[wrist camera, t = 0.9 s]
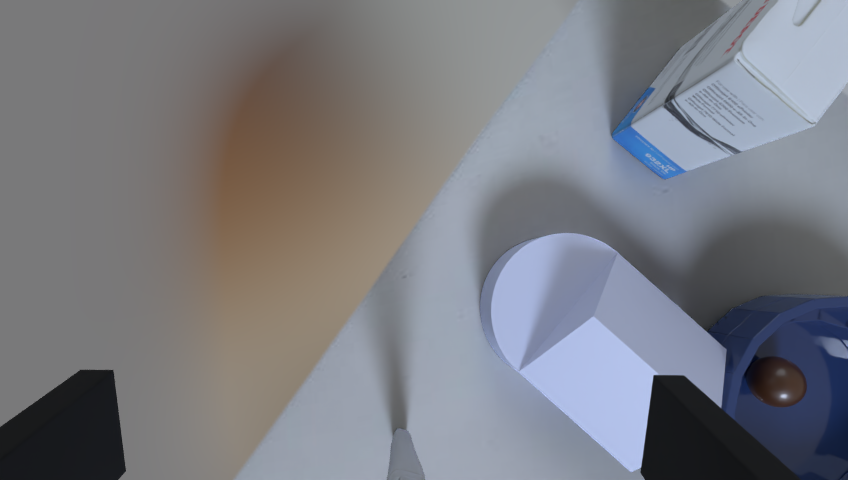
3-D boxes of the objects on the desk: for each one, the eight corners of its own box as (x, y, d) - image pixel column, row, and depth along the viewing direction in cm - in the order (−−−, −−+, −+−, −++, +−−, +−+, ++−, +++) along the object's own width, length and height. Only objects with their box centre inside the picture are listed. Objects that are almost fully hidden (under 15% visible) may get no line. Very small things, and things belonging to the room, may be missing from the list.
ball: (732, 354, 31) (769, 362, 28) (776, 351, 31) (817, 359, 28) (737, 402, 31) (774, 415, 28) (781, 398, 31) (823, 411, 28)
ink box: (662, 183, 32) (818, 131, 21) (606, 135, 32) (730, 55, 21) (737, 90, 33) (927, -12, 21) (682, 43, 33) (843, -85, 21)
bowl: (668, 300, 32) (714, 304, 27) (870, 288, 33) (945, 290, 28) (688, 526, 31) (739, 569, 26) (895, 505, 32) (979, 543, 27)
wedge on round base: (690, 341, 32) (541, 208, 32) (772, 359, 25) (583, 191, 25) (604, 450, 31) (451, 314, 31) (664, 499, 24) (468, 325, 24)
